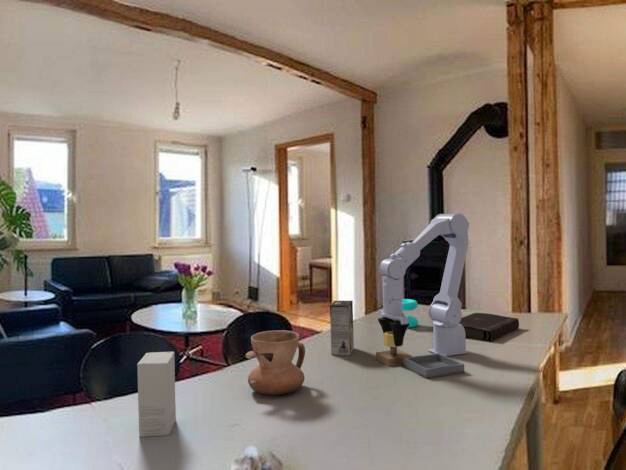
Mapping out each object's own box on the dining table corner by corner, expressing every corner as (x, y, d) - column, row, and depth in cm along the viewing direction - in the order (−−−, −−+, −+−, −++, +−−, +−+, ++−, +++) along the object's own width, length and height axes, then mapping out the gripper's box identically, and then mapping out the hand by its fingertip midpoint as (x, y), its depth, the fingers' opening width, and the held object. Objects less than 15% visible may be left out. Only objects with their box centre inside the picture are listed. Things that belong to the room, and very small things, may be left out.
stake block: (398, 355, 157) (398, 335, 156) (412, 362, 149) (411, 341, 149) (375, 358, 154) (375, 337, 154) (388, 366, 146) (387, 344, 146)
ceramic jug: (263, 406, 118) (261, 346, 117) (233, 390, 129) (231, 336, 129) (323, 388, 129) (321, 334, 128) (290, 375, 140) (289, 325, 140)
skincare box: (148, 421, 111) (145, 352, 110) (178, 419, 111) (175, 350, 111) (138, 438, 103) (135, 363, 102) (171, 436, 103) (168, 361, 102)
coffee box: (335, 347, 168) (334, 300, 168) (354, 348, 167) (353, 300, 167) (330, 355, 160) (329, 305, 159) (350, 355, 158) (349, 305, 158)
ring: (397, 341, 155) (396, 330, 155) (406, 345, 150) (405, 334, 150) (381, 343, 153) (381, 332, 153) (390, 347, 148) (389, 336, 148)
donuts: (390, 298, 203) (415, 298, 203) (390, 323, 203) (415, 322, 203) (394, 303, 193) (420, 302, 193) (394, 328, 193) (420, 328, 193)
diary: (519, 330, 188) (519, 317, 188) (491, 344, 170) (492, 330, 170) (472, 323, 201) (472, 311, 200) (442, 335, 182) (442, 322, 182)
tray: (439, 361, 150) (439, 353, 150) (464, 372, 139) (464, 364, 138) (403, 366, 146) (403, 357, 146) (426, 378, 135) (426, 369, 134)
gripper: (369, 296, 156) (371, 339, 157) (392, 303, 143) (393, 350, 143) (390, 294, 159) (391, 336, 159) (414, 301, 145) (415, 347, 146)
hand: (393, 343), depth 151 cm, fingers closed on ring, 5 cm apart
